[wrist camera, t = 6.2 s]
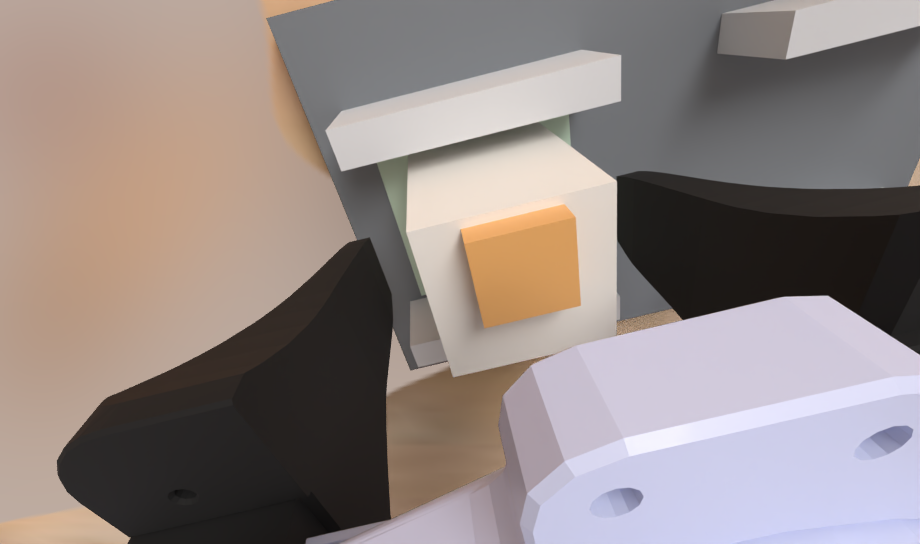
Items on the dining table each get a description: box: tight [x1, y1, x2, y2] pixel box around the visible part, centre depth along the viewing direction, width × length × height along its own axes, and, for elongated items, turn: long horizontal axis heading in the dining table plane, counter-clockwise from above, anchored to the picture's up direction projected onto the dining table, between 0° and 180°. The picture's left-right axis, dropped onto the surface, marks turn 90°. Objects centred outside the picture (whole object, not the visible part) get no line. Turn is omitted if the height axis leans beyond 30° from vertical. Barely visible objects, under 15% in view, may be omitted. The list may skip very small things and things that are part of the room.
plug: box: [406, 122, 617, 377], centre depth 10 cm, size 4×4×6 cm
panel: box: [266, 0, 920, 370], centre depth 13 cm, size 13×20×4 cm, turn 103°
